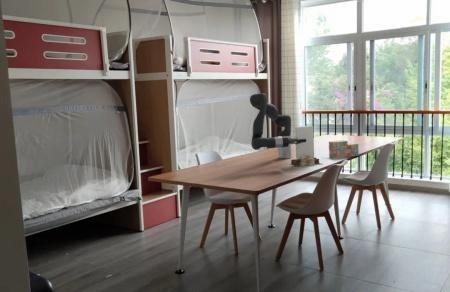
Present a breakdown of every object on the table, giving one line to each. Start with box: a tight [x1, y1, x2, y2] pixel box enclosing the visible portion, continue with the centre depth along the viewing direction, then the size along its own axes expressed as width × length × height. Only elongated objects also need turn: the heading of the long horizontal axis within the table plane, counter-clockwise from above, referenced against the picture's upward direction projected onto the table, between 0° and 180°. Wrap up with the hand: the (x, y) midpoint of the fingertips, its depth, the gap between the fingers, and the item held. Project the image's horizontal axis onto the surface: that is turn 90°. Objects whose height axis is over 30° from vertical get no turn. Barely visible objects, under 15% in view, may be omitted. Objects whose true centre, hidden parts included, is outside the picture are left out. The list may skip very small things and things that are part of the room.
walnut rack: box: [290, 157, 324, 168], centre depth 299 cm, size 20×12×4 cm, turn 99°
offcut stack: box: [300, 156, 316, 167], centre depth 295 cm, size 9×5×6 cm, turn 99°
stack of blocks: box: [328, 139, 360, 159], centre depth 330 cm, size 21×6×12 cm, turn 104°
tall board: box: [294, 125, 315, 159], centre depth 300 cm, size 12×3×22 cm, turn 99°
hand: (305, 140), depth 300 cm, fingers closed on tall board, 3 cm apart
